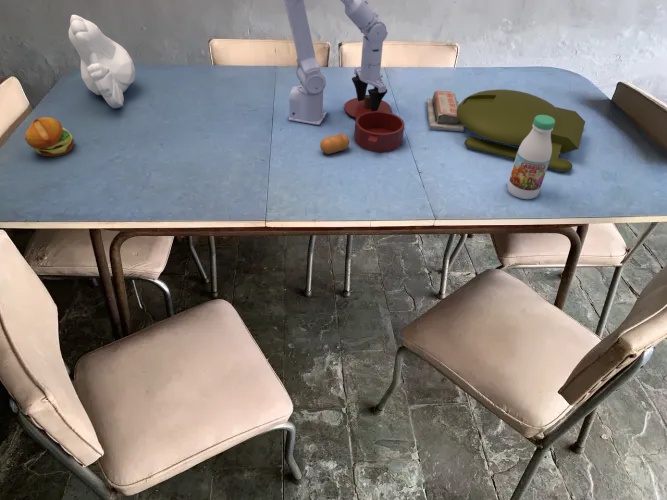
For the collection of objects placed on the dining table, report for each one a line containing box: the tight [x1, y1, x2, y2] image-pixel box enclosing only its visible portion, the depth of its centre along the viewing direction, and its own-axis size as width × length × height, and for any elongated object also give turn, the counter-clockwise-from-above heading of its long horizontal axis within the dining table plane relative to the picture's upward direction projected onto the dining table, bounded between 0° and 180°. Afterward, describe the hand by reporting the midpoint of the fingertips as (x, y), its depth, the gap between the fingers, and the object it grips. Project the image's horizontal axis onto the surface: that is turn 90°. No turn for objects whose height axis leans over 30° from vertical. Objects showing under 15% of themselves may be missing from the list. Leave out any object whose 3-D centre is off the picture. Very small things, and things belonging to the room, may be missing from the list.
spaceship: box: [457, 89, 586, 173], centre depth 156 cm, size 35×31×10 cm
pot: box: [353, 109, 406, 153], centre depth 153 cm, size 13×19×5 cm
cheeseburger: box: [24, 116, 74, 157], centre depth 142 cm, size 10×11×10 cm
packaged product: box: [426, 90, 465, 133], centre depth 165 cm, size 18×5×10 cm
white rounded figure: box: [68, 14, 136, 109], centre depth 160 cm, size 25×16×25 cm
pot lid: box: [343, 94, 392, 119], centre depth 166 cm, size 14×14×5 cm
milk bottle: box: [507, 115, 555, 200], centre depth 131 cm, size 8×8×20 cm
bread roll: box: [319, 133, 350, 155], centre depth 148 cm, size 8×4×4 cm, turn 119°
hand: (367, 105), depth 166 cm, fingers open, 7 cm apart
